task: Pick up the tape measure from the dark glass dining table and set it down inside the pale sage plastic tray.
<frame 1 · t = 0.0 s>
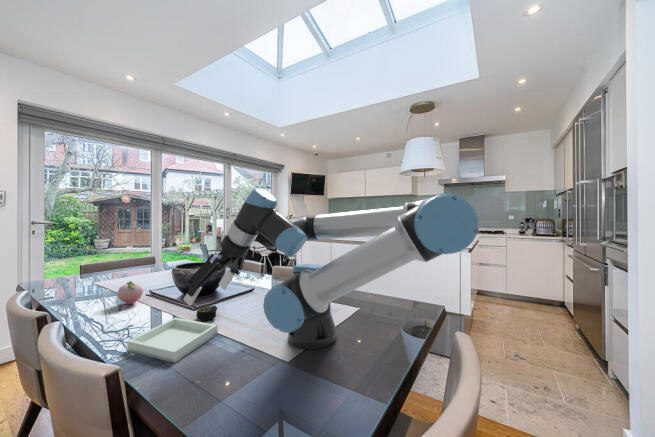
hand: (206, 294, 79), 15 cm above the table, fingers open, 13 cm apart
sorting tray: (175, 342, 81), on the table
tape measure: (209, 318, 98), on the table
decorative fruit: (130, 304, 111), on the table
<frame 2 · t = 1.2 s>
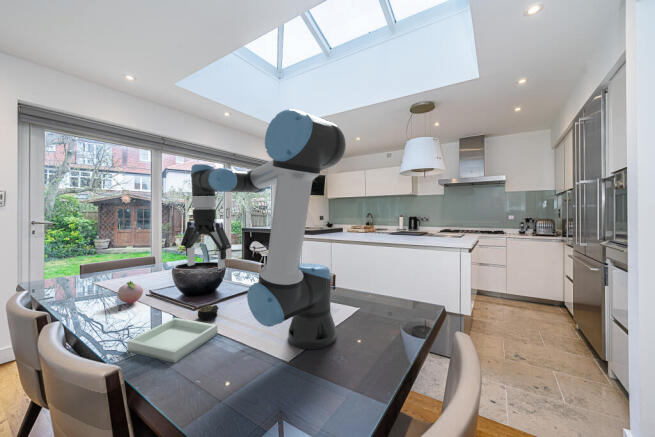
hand: (206, 266, 96), 19 cm above the table, fingers open, 13 cm apart
nothing on the table moved.
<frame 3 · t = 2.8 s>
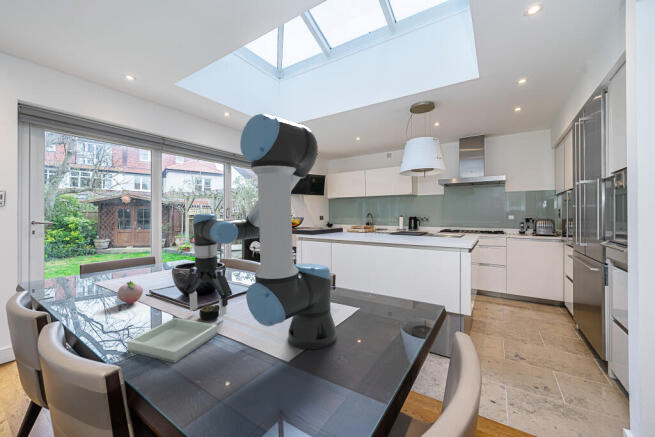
hand: (208, 312, 98), 2 cm above the table, fingers open, 13 cm apart
nothing on the table moved.
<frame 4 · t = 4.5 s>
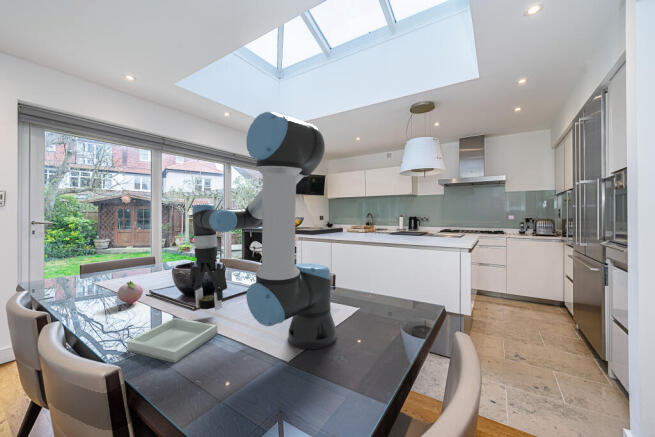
hand: (209, 307, 97), 4 cm above the table, fingers closed on tape measure, 8 cm apart
tape measure: (211, 307, 98), point 3 cm above the table, touching gripper
everything else where it was.
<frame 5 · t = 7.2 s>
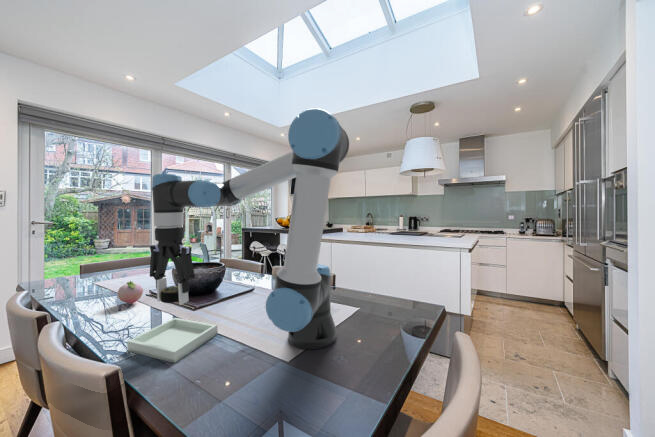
hand: (173, 301, 80), 13 cm above the table, fingers closed on tape measure, 8 cm apart
tape measure: (176, 301, 81), point 12 cm above the table, touching gripper
everything else where it was.
when the fingers open (2 cm above the table, at t = 9.9 s): tape measure stays where it is, resting on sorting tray.
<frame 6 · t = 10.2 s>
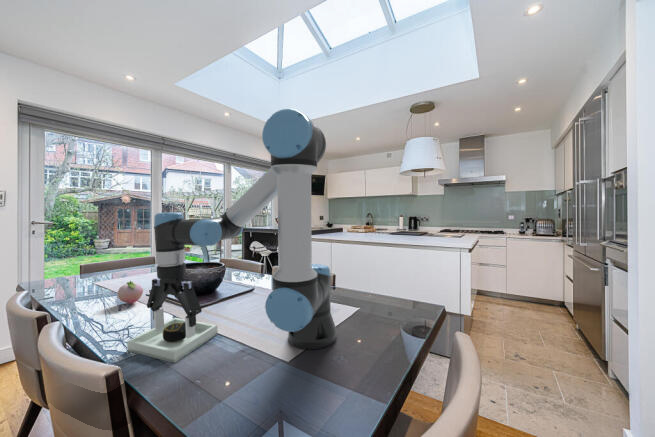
hand: (174, 333, 81), 3 cm above the table, fingers open, 12 cm apart
tape measure: (178, 338, 82), point 1 cm above the table, touching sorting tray
everything else where it was.
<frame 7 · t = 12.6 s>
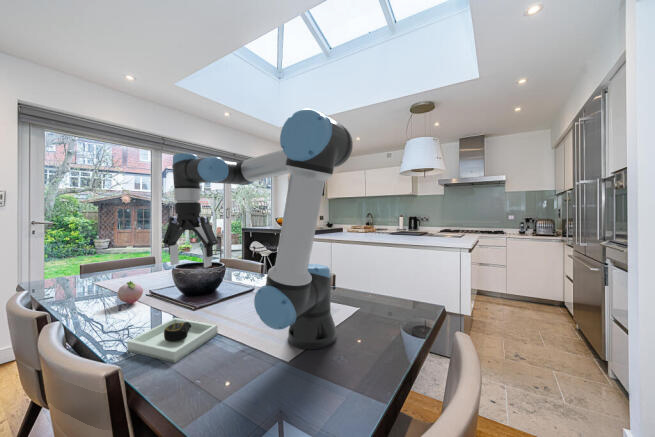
hand: (191, 265, 88), 22 cm above the table, fingers open, 13 cm apart
nothing on the table moved.
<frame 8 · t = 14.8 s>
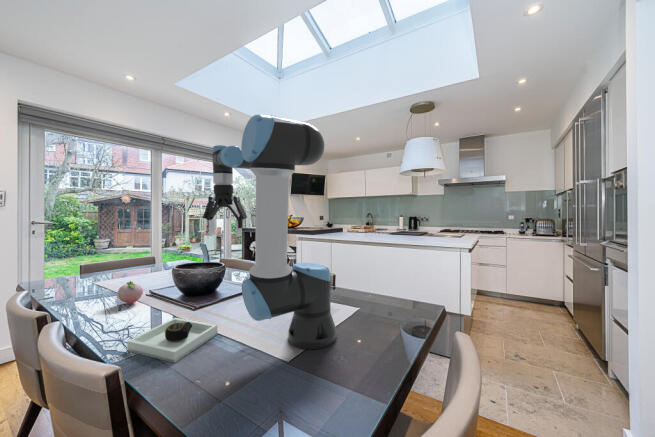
hand: (225, 235, 110), 29 cm above the table, fingers open, 13 cm apart
nothing on the table moved.
at the end: tape measure inside the target area on the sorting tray (1.8 cm from its centre), point 0.6 cm above the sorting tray's base; the gripper is holding nothing; tape measure tilted 1° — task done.
